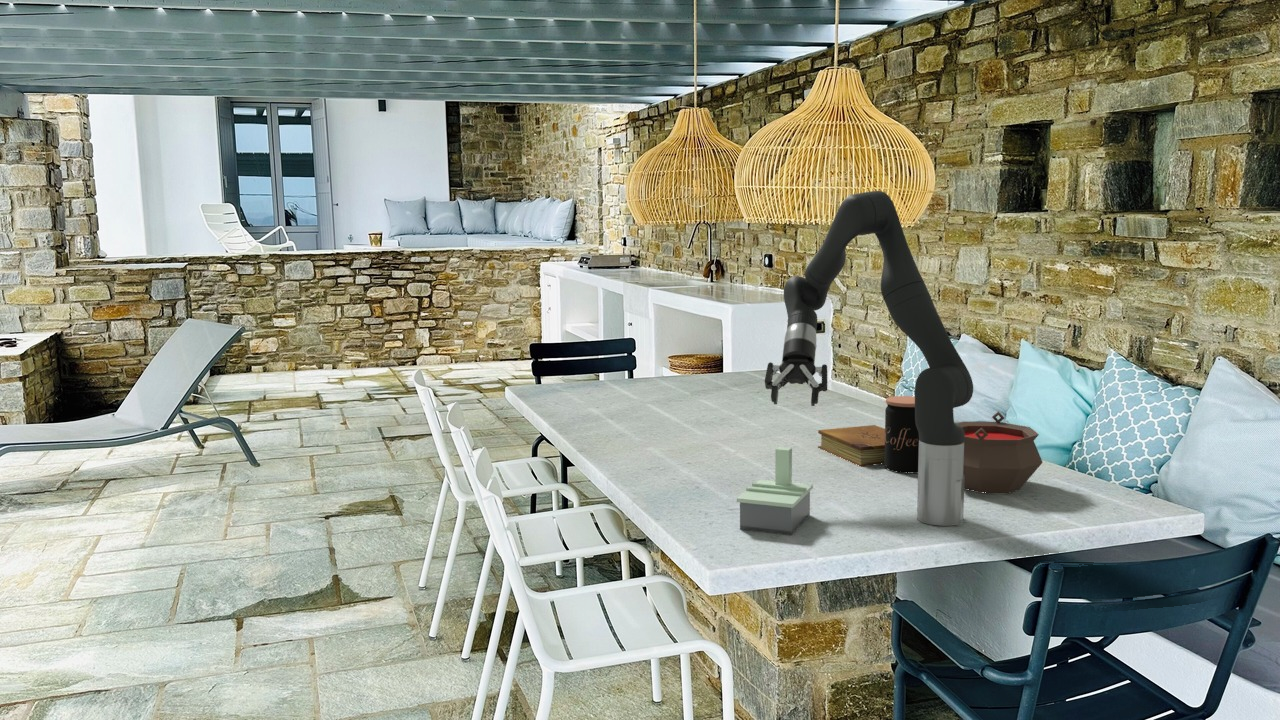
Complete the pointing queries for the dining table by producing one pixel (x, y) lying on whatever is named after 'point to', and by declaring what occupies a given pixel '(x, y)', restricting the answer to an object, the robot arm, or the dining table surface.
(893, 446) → the coffee jar
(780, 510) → the tub
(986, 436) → the brown faceted pot
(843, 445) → the diary
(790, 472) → the lid
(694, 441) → the dining table surface
